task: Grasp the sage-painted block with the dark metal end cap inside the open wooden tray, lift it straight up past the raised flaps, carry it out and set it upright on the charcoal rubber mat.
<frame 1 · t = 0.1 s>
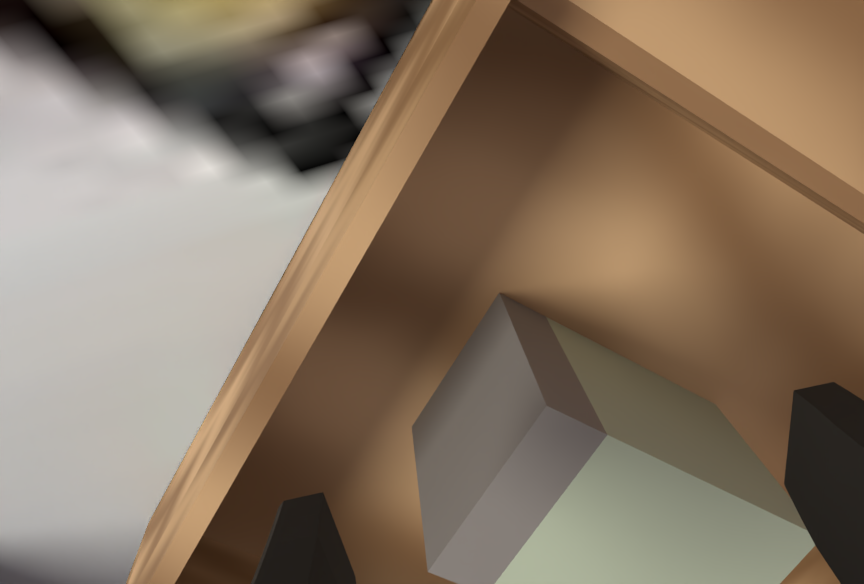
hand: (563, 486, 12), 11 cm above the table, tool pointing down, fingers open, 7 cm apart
wooden tray: (563, 410, 24), on the table
capped block: (565, 415, 23), resting on wooden tray
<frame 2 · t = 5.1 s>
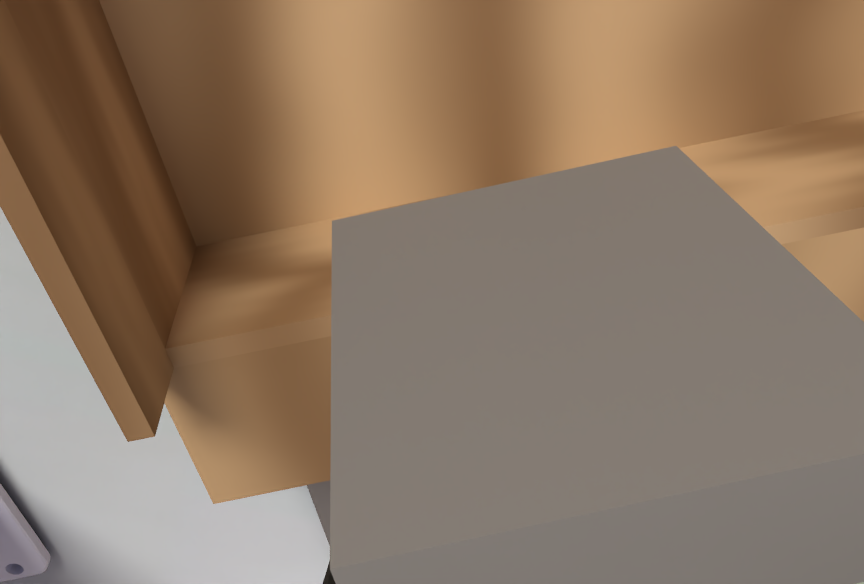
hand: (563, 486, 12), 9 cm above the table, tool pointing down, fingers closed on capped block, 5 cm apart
capped block: (535, 396, 13), point 8 cm above the table, touching gripper
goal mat: (455, 476, 25), on the table
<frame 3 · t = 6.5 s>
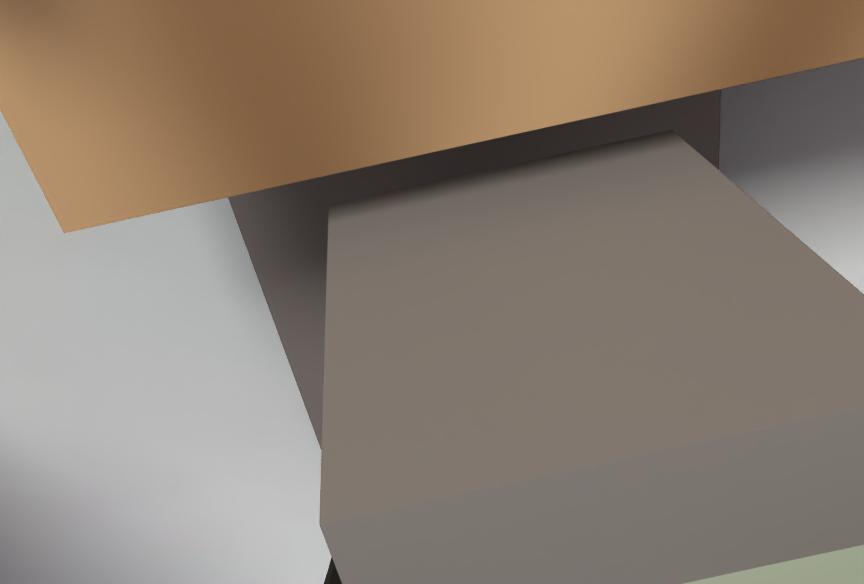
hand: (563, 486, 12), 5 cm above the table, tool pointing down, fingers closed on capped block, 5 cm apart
capped block: (532, 384, 13), point 3 cm above the table, touching gripper
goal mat: (498, 301, 16), on the table
when the fingers open (3 cm above the table, at t = 7.8 s): capped block drops 1 cm, resting on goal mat.
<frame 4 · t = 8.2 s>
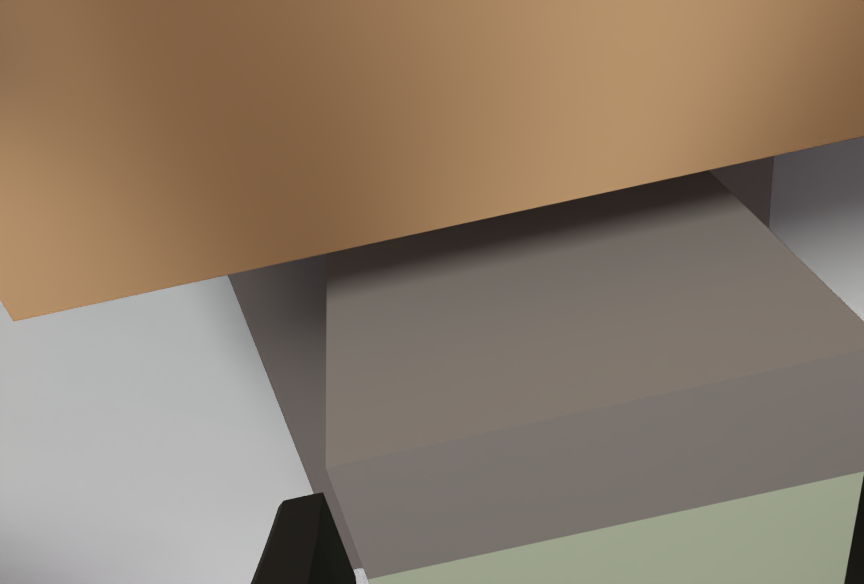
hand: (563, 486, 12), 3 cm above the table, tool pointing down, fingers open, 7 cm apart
capped block: (519, 349, 14), resting on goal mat
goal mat: (518, 356, 14), on the table
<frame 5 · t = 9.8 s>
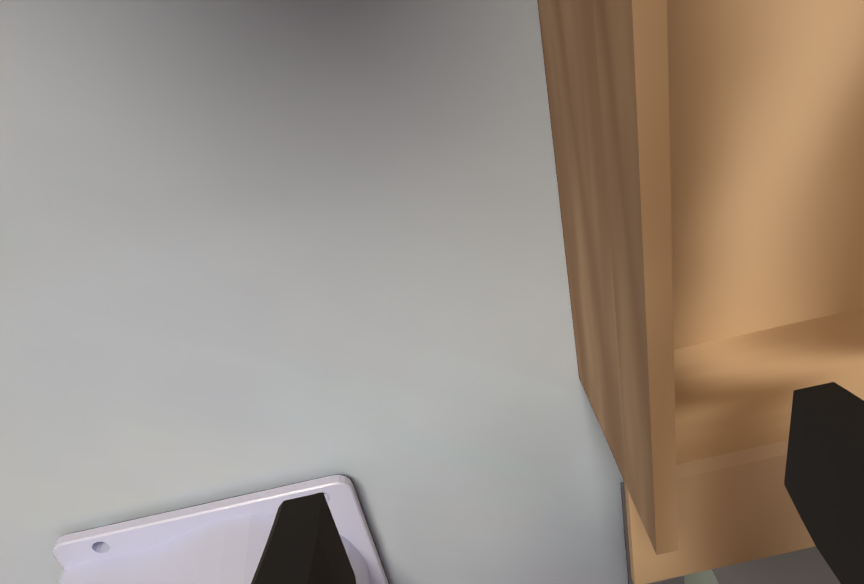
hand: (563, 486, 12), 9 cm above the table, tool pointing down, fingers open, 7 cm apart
capped block: (751, 540, 28), resting on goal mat
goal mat: (746, 539, 28), on the table
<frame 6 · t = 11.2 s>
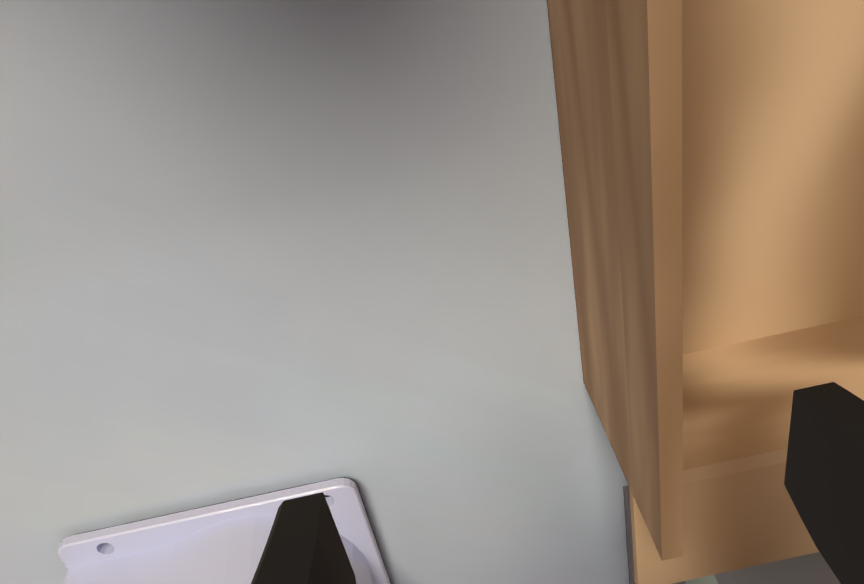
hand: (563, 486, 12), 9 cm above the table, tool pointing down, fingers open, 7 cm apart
capped block: (752, 545, 28), resting on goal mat
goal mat: (747, 544, 28), on the table
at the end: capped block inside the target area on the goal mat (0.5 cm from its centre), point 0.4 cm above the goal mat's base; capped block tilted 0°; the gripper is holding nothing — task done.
